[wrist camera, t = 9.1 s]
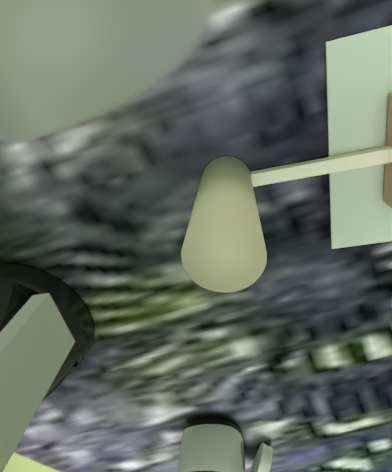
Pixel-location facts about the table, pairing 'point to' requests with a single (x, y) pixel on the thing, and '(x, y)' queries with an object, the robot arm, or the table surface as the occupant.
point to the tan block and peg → (252, 214)
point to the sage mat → (358, 134)
